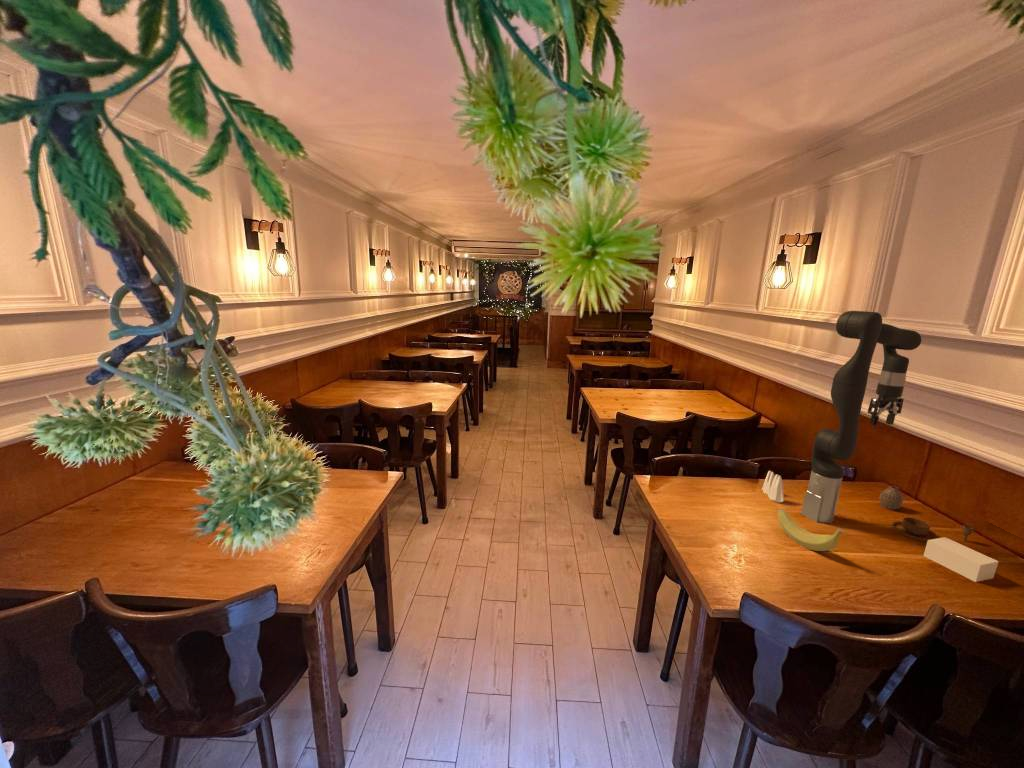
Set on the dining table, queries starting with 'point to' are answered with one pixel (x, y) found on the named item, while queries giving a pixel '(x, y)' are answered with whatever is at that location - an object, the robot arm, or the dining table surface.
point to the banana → (807, 534)
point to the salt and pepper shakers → (774, 487)
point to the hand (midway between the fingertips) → (881, 424)
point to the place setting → (923, 528)
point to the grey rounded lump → (891, 498)
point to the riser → (961, 559)
